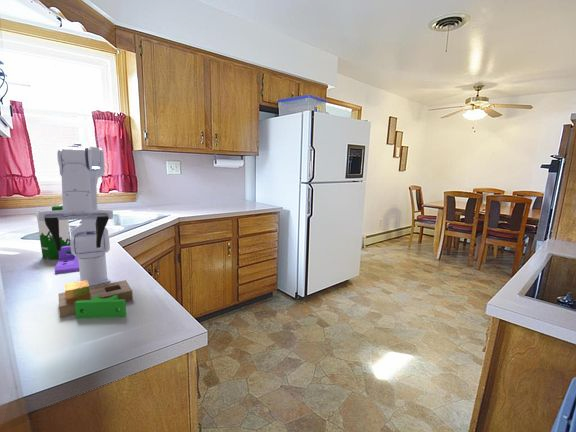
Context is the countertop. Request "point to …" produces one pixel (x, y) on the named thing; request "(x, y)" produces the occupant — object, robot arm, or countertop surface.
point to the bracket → (66, 261)
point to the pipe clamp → (100, 307)
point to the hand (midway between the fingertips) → (79, 248)
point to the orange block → (77, 290)
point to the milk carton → (47, 239)
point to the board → (102, 291)
